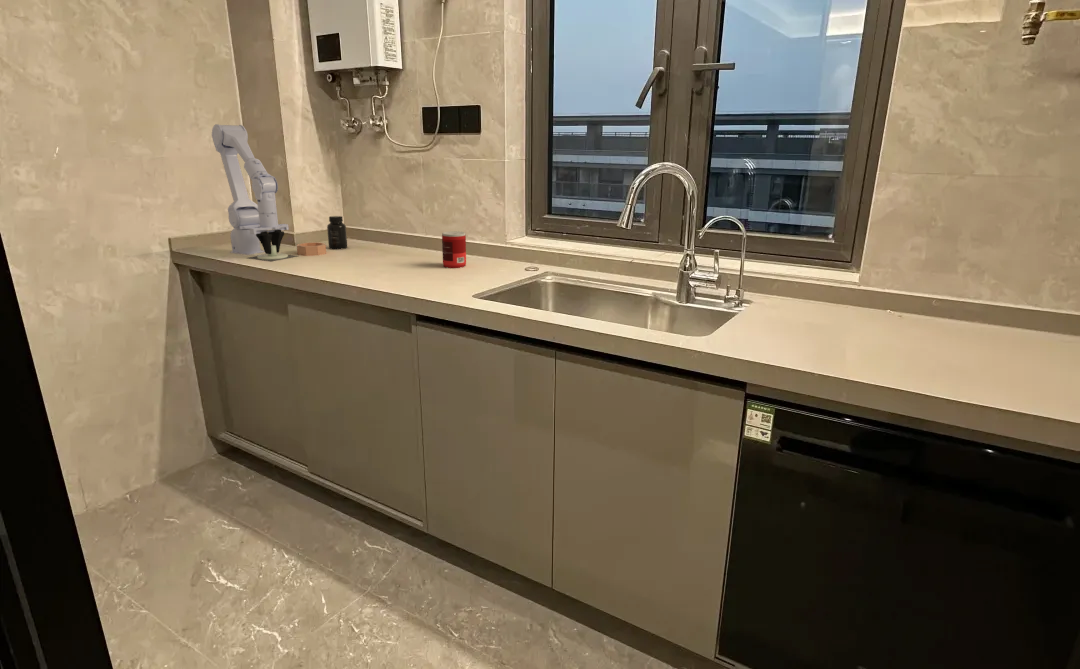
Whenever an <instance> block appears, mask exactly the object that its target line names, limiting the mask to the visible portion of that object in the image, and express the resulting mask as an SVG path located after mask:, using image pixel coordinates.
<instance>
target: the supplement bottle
mask: <svg viewBox="0 0 1080 669" xmlns="http://www.w3.org/2000/svg"><path fill="white" fill-rule="evenodd" d="M328 222H329V223H328V224H327V226H326V227H327V228H326V229H327V230H326V231H327V242H328V248H329V249H330V248H332V249H331V250H342V249H341V248H345V249H347V248H348V237H347V235H348V234H347V226H346V224H345V223H343V222H344V220H343V216H342V215H331V216H329V217H328Z"/></svg>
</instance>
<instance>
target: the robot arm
mask: <svg viewBox="0 0 1080 669" xmlns="http://www.w3.org/2000/svg"><path fill="white" fill-rule="evenodd" d="M248 134H249V133H248V131H247V129H246V128H245V126H244V125H242V124H239V125H237V124H236V125H233V124H219V123H215V124H214V125H213V127H212V129H211V138H212V142H213V145H214V148H215V151H216V152H217V153H219V156H220V157H221V161H222V165H223V168H224V172H225V175H226V176H225V177H226V179H227V182H228V186H229V189H230V192H231V196H232V200H233V201H232V203H230V205H229V206H228V207H227V214H228V221H229V224H230V226H231V227H233V229H231V231H230V242H231V244H230V245H231V251H230V252H229V253H230V254H231V253H232V254H239V255H247V256H248V255H249V256H250V255H255V254H261V253H262V254H263V253H264V254H271V245H276V251H277V253H280V249H281V243H282V240H283V239H284V238H283V237H284V236H285V231H289V230H290V229H289V224H288V223H280V224H279V221H278V219H279V218H278V208H277V203H276V200H277V199H276V194H277V192H278V189H279V184H278V181H277V179H276V177H275V176H273V175H271V174H270V173H269V172H268V171H267V170H266V168H265V167H264V164H263V163H262V161H261V160H260V159H258V158H255V155H254V153H253V151H252V149H251V147H250V144H249V143H248V140H249V137H248V136H249V135H248ZM238 155H239V157H240V158H241V159H242V161H243V162H244V165H243V168H244V170H245V172H246V173H247V176H248V177H249V178H250V181H251V189H252V192H253V193H254V197H255V198H254V199H255V200H256V202H257V203H256V202H255V201H253V200H252V199H250V197H249V194H248V191H247V187H246V182H245V179H244V175H243V173H242V170H241V165H240V162H239V161H240V160H239V159H238ZM261 246H262V248H263V250H262V249H261Z"/></svg>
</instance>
